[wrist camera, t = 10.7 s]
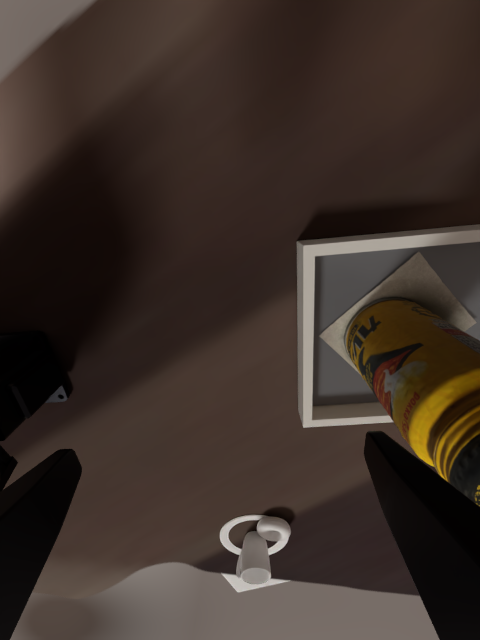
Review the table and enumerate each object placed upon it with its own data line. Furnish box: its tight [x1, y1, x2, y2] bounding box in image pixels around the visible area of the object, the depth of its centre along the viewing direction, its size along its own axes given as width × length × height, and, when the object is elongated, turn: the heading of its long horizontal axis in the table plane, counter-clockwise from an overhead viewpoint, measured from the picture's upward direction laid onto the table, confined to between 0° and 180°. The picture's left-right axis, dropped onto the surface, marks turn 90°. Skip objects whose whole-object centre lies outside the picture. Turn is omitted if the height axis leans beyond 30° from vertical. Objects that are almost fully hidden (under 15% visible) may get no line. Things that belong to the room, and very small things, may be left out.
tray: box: [297, 224, 480, 428], centre depth 20 cm, size 14×14×2 cm
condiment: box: [320, 252, 480, 506], centre depth 15 cm, size 7×8×12 cm
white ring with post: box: [220, 515, 291, 593], centre depth 30 cm, size 9×8×4 cm
